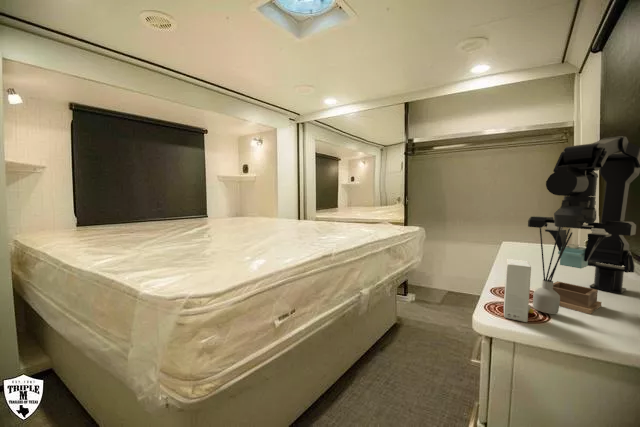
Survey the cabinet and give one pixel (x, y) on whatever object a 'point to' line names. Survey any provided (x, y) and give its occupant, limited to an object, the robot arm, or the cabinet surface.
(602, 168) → the robot arm
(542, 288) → the reed diffuser
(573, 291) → the pocket holder
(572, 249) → the block
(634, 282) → the cabinet surface
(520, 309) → the skincare box
